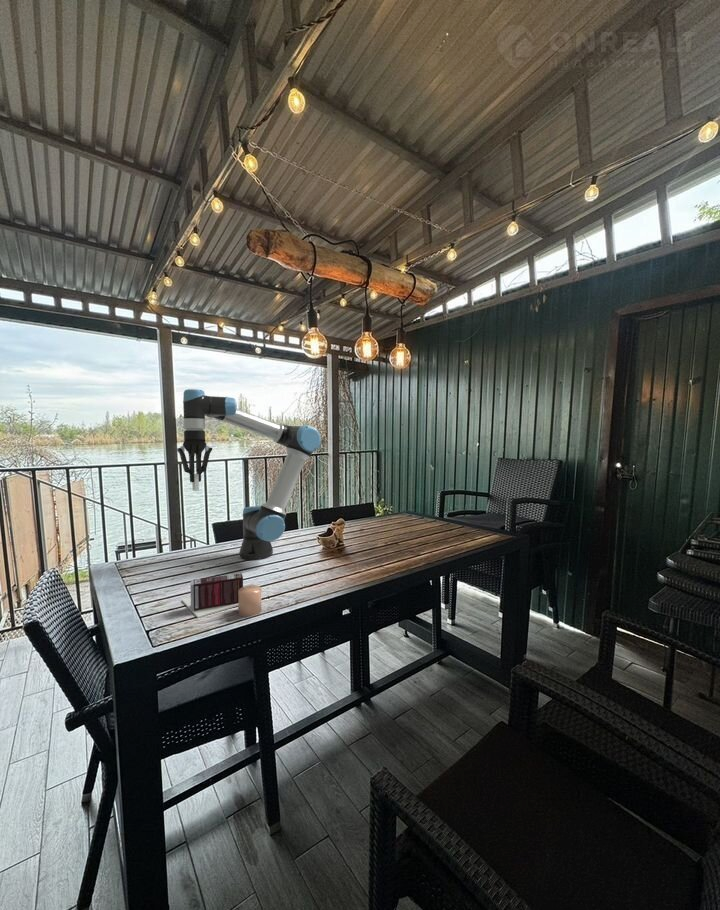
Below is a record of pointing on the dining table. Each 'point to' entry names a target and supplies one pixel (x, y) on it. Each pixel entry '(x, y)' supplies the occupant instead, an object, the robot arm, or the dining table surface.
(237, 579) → the supplement box
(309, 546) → the dining table surface
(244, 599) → the peach pillar candle
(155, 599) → the dining table surface
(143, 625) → the dining table surface
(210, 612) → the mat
